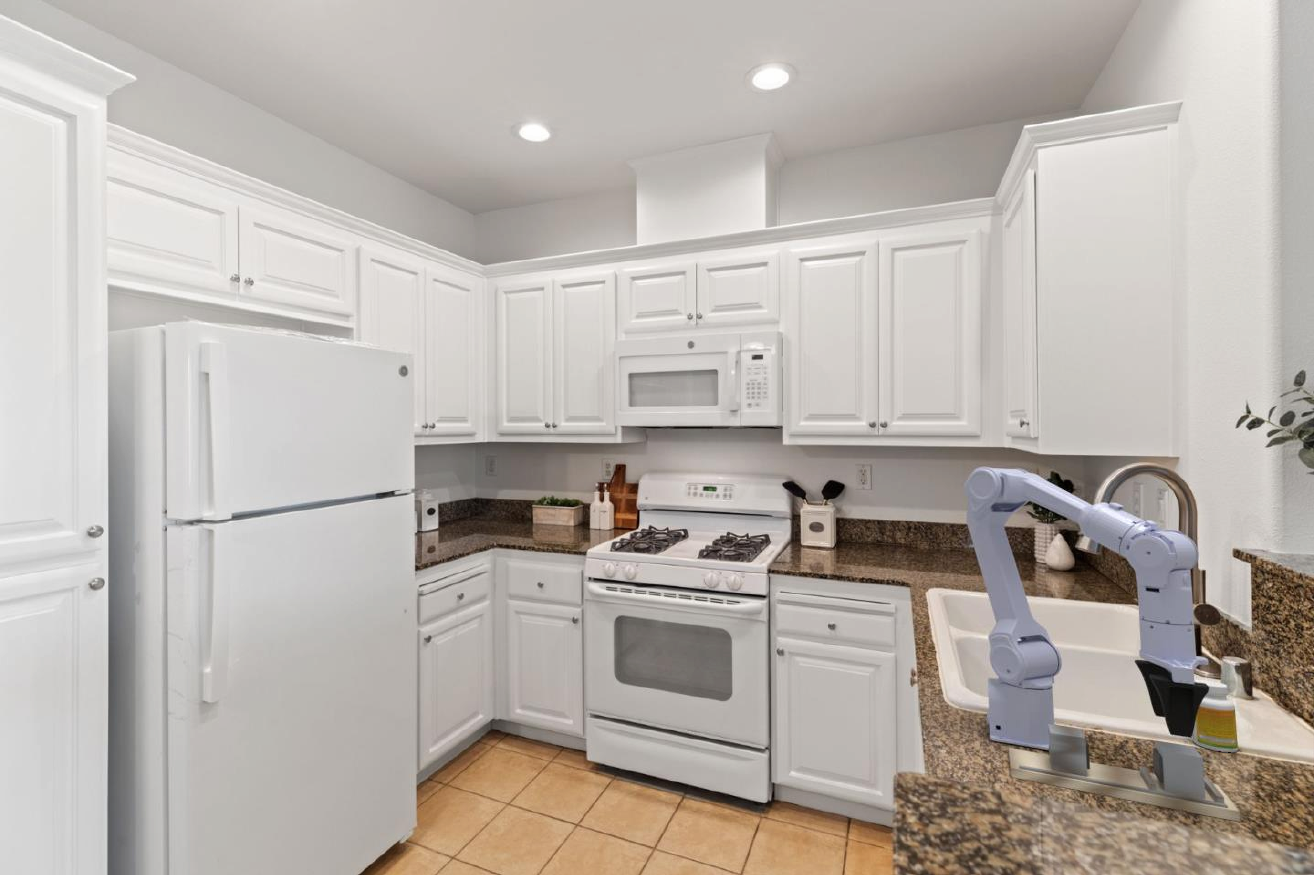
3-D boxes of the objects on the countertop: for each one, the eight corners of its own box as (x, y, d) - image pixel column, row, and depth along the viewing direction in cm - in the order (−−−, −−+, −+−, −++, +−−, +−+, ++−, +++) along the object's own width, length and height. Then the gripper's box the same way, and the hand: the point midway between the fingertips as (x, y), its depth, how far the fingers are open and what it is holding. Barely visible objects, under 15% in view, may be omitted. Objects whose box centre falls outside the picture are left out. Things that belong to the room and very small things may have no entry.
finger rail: (1011, 776, 85) (1009, 730, 86) (1009, 756, 92) (1007, 713, 93) (1240, 822, 74) (1236, 768, 75) (1218, 794, 81) (1214, 745, 82)
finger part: (1161, 790, 79) (1158, 750, 80) (1153, 778, 83) (1151, 739, 83) (1205, 799, 77) (1202, 757, 78) (1195, 786, 81) (1193, 746, 81)
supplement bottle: (1247, 755, 94) (1242, 689, 95) (1206, 751, 95) (1202, 686, 96) (1222, 741, 99) (1218, 679, 100) (1184, 738, 100) (1180, 677, 101)
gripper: (1223, 634, 74) (1231, 751, 73) (1188, 615, 87) (1194, 714, 86) (1150, 628, 78) (1156, 739, 76) (1126, 610, 90) (1132, 705, 89)
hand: (1172, 725), depth 81 cm, fingers open, 7 cm apart
